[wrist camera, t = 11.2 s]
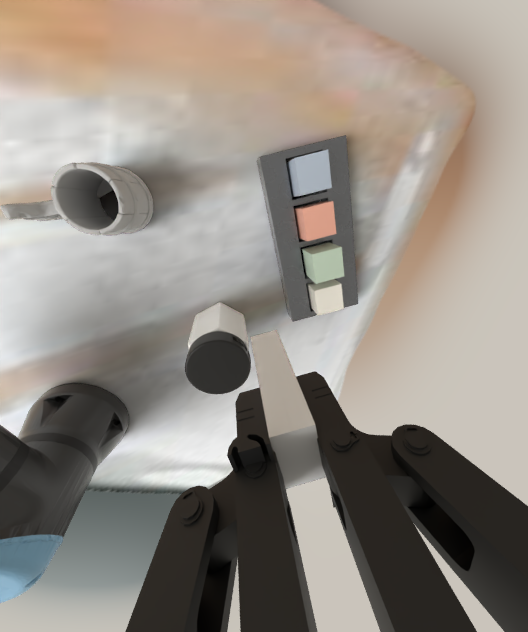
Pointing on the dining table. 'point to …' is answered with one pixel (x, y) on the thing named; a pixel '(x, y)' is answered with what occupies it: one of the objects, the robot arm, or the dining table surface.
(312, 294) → the key ivory
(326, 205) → the key coral
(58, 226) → the dining table surface
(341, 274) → the key sage
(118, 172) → the mug
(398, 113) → the dining table surface
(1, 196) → the dining table surface
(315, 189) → the key slate
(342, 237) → the key panel
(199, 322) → the jar
